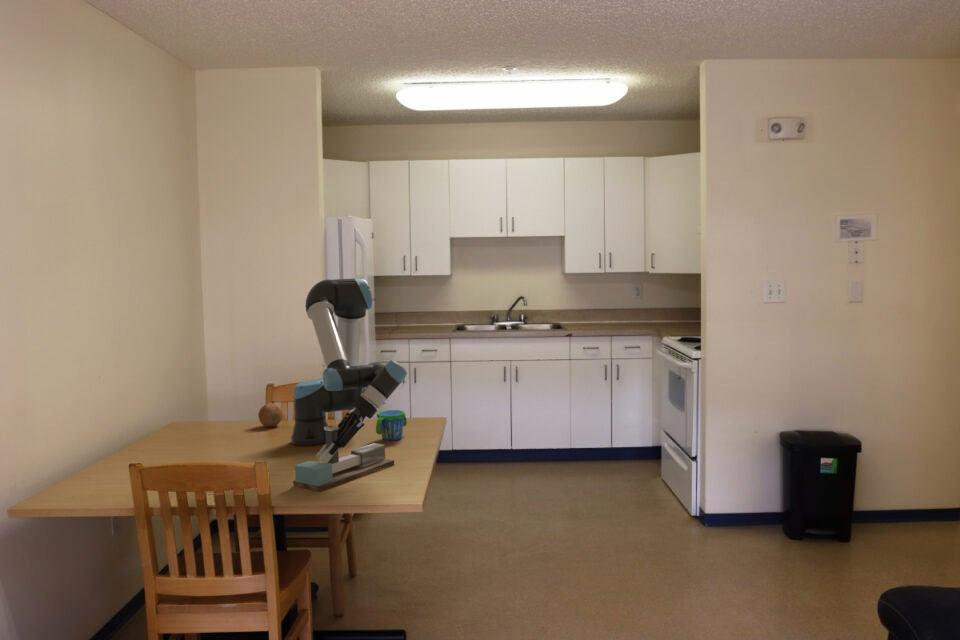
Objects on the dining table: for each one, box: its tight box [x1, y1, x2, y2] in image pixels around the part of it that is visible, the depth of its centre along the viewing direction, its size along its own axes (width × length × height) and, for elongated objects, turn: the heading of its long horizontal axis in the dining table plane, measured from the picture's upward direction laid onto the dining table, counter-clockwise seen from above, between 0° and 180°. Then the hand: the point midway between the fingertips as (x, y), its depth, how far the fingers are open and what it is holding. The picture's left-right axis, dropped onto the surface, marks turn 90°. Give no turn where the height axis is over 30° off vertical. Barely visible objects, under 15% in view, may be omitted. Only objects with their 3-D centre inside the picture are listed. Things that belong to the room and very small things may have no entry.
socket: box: [294, 460, 333, 486], centre depth 239 cm, size 10×6×5 cm, turn 55°
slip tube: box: [324, 424, 361, 474], centre depth 248 cm, size 3×22×14 cm, turn 145°
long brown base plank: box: [292, 442, 395, 492], centre depth 251 cm, size 12×34×6 cm, turn 145°
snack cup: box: [375, 409, 408, 441], centre depth 298 cm, size 16×10×10 cm
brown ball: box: [258, 402, 283, 428], centre depth 325 cm, size 10×10×10 cm
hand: (320, 460), depth 244 cm, fingers closed on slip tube, 4 cm apart
